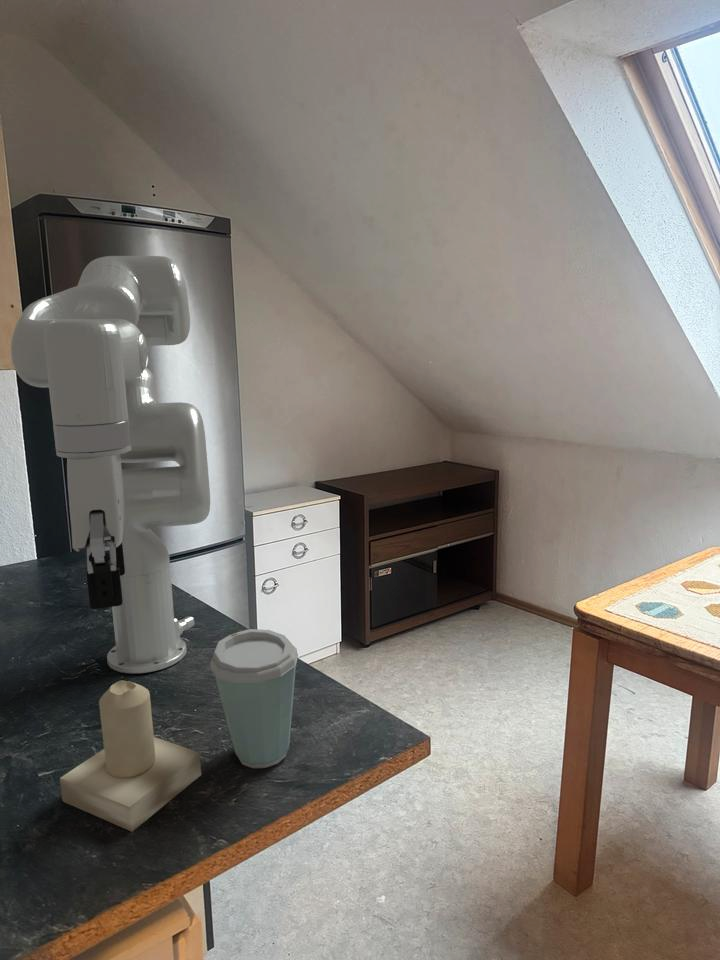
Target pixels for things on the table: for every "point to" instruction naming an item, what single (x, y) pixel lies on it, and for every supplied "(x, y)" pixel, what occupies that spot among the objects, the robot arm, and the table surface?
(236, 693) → the disposable coffee cup
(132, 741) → the candle
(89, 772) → the plinth
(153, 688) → the table surface
